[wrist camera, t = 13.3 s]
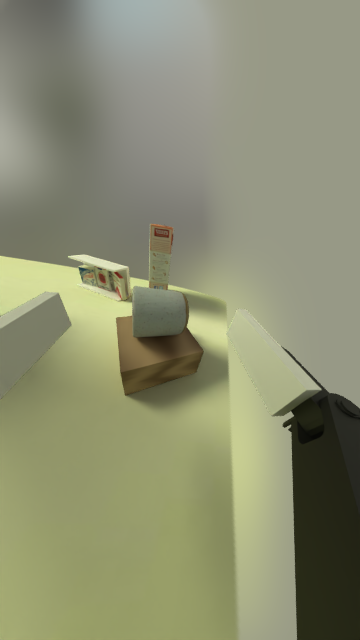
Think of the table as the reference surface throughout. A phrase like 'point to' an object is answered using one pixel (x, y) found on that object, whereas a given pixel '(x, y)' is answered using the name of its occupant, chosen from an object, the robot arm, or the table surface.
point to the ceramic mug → (158, 312)
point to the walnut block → (154, 357)
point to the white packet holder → (104, 277)
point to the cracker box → (160, 255)
